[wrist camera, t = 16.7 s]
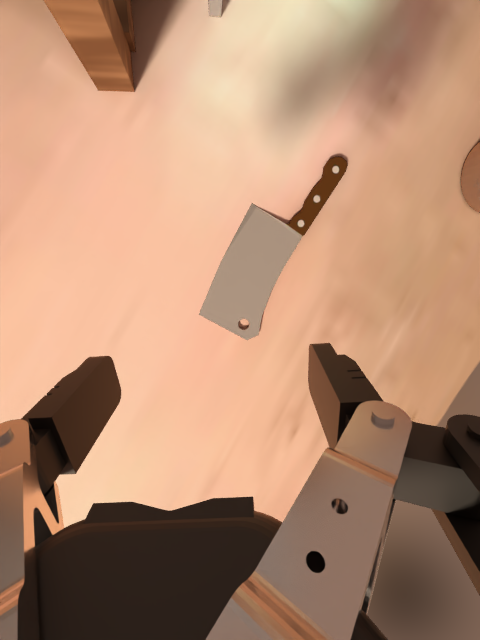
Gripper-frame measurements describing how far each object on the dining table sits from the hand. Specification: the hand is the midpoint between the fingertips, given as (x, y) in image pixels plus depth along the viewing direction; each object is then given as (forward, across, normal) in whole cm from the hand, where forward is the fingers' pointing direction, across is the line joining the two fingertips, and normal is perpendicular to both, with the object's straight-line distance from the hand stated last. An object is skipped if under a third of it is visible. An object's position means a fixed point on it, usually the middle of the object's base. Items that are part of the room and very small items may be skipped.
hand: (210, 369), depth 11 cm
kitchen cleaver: (+25, -5, -2) cm, 26 cm away
